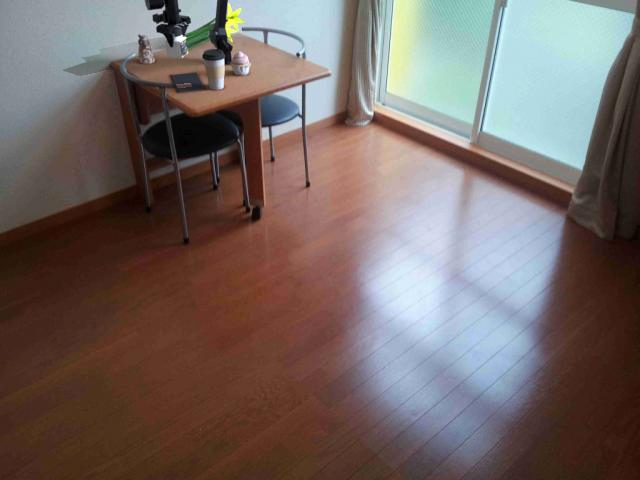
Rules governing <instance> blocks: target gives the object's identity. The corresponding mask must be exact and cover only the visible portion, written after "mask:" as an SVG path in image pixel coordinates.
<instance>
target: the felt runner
mask: <svg viewBox="0 0 640 480" xmlns="http://www.w3.org/2000/svg"><path fill="white" fill-rule="evenodd" d="M170 76H171V79H172V81H173V83H174V85H175V84H184V83H191V84H192V87H186V88H176V90H177V93H186V92H193V91H194V92H196V91H204V90H205V89H206V88H205V86H204V84H203V82H202V81H201V79H200V77H199V75H198V73H197V72H195V71H194V72H187V73H177V74H171V75H170Z"/></svg>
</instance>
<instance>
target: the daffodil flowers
mask: <svg viewBox="0 0 640 480" xmlns="http://www.w3.org/2000/svg"><path fill="white" fill-rule="evenodd" d="M242 10H243V7H239V8H237V9H236V10H234V11H233V9H232V7H231V4H230V2H228V6H227V13H228V14H227V16H226V26H225V29H226V32H227V40H228V41H229V42H231V43H233V37H232V36H231V34H234V33H237V32H239V31H240V29H239V25H238V24H246V21H245V20H243V19H242V18H240V17H238V16H239V15H240V14H241V12H242ZM215 18H216V17H214V18H213V19H212V20H210V21H208V22H207V23H205V24H203V25H201V26H200V27H198V28H196V29H194V30H192V31H190V32H186V33H185V36H184V37H186V38H187V46H188V51H189V50H191V49H194V48H196V47H198V46H200V45H201V44H204V43H205V42H211V41H210V38H209V35H210V29H213V28H214V26H215ZM231 26H233V28H234V29H233V28H231Z"/></svg>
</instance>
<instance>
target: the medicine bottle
mask: <svg viewBox="0 0 640 480" xmlns="http://www.w3.org/2000/svg"><path fill="white" fill-rule="evenodd" d="M173 32H175V35H174V43H173V47H170V45H169V43H168V41H167V39H165V40H164V43H165V52H166V57H167V58H176V59H177V58H178V59H183V58H184V57H185V56H187V55H188V54H189V50H188V46H187V38H186V37H182V28H181V27H179V26H175V27H173Z"/></svg>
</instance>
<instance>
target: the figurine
mask: <svg viewBox="0 0 640 480" xmlns="http://www.w3.org/2000/svg"><path fill="white" fill-rule="evenodd" d="M137 37H138V38H139V39H138V40H137V42H138V51H137V57H138V62H139V63H140V64H142V65H144V64H145V65H147V64H152V63H155V61H156V59H155V55H154V52H153V45H152V44H151V42H150V39H149V37H148V36H147V35H145V34H142V35H141V34H140V33H139V34H137Z"/></svg>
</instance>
